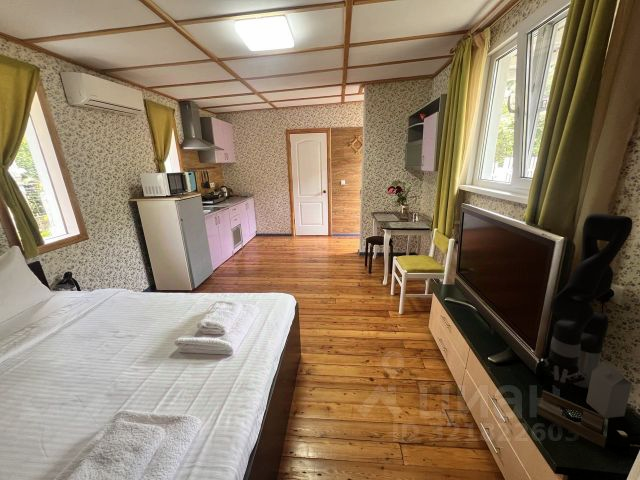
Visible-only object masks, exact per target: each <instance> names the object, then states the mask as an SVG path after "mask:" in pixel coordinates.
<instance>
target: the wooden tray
mask: <svg viewBox="0 0 640 480" xmlns="http://www.w3.org/2000/svg"><path fill="white" fill-rule="evenodd" d="M558 406H559V407H564V408H568V409H572V410H575V411H578V412H581V413H583V411H586V412H588V413H590V414H592V415H594V416H596V417H599V418H601V419H603V420H604V421H603V422H604V427H603V435H602V434H600V433H598V432H595V431H593V430H591V429H589V428H587V427H585V426H583V425H581V424H580V423H581V422H574V421H572V420H570V419H568V418H566V417H564V416H562V411H563V410H562V409H559V408H558ZM535 413H536V415H537V416H540V417H541V418H543V419H545V420H548V421H550V422H552V423H553V424H556V425H558V426H560V427H561V428H564V429H566V430H568V431H570V432H572V433H574V434H576V435H578V436H580V437H582V438H584V439H587V440H588V441H590V442H591V443H594V444H597V445H598V446H601V447H602V448H605V447H606V446H605V445H606V442H607V436H608V434H607V433H608V428H609V427H608V425H609V418H606V417H604V416H602V415H601V414H600V413H598V412H595V411H592V410H590V409H589V408H585V407H583V406H581V405H578V404H576V403H574V402H571V401H570V400H567V399H564V398H563V397H560V396H557V395H556V394H553V393H551V392H548V391H546V390H544V389H543V390H542V394H541V398H540V400H539V403H538V404H537V406H536V411H535Z"/></svg>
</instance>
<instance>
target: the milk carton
mask: <svg viewBox="0 0 640 480" xmlns="http://www.w3.org/2000/svg"><path fill="white" fill-rule="evenodd" d="M632 386H633V383H632V382H630V381H629V380H628V379H627V378H626V375H625V374H623V373H622V372H620V371H619V370H618V369H616V368H614V367H613V366H611V365H609V364H608V363H607V362H605V360H604V361H602V362H601V364H599V366H598V367H597V368H596V369H594V370H593V371H592V375H591V380H590V385H589V388H588V392H587V396H586V401H585V403H586V404H587V405H588V406H590V407H591V408H592V409H594V411H596V413H597V414H599V415H602V416H604V417H606V418H608V419H612V418H618V417H619V418H620V417H625V414H626V410H627V406H628V402H629V399H630V393H631V390H632Z"/></svg>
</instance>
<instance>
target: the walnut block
mask: <svg viewBox="0 0 640 480" xmlns="http://www.w3.org/2000/svg"><path fill="white" fill-rule="evenodd" d="M603 421H604V420H603V419H601V418H599V417H596V416H594V415H592V414H590V413H588V412H586V411H583V415H582V419H581V423H580V424H581V425H583V426H585V427H587V428H589V429H591V430H593V431H595V432H598V433H600V434H601V431H602V426H603Z"/></svg>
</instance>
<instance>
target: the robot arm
mask: <svg viewBox="0 0 640 480" xmlns="http://www.w3.org/2000/svg"><path fill="white" fill-rule="evenodd" d="M633 225H634V224H633V219H632V217H629V216H627V215H626V216H624V215H620V214H619V215H615V214H606V213H590V214H588V215H587V216H586V218H585V220H584V224H583V227H582V237H581V238H582V239H581V253H580V259H579V264H577V266H575V268H574V270H573V271H572V273H571V276H570V277H569V279H568V281H567V284H566V285H565V286H564V287H563V289H561V291H560V292H559V293H557V295H555V296H554V297H553V298H552V299H551V301H550V304H549V308H550V311H551V312H552V313H553V314H554V315H556V316H559V317H562V318H564V319H567V320H556V322H555V323H554V326H553V334H552V338H551V341H550V342H551V343H550V346H549V347H550V348H549V349H550V350H549V354H548V355H549V356H547V358H543V357H541V358H540V360H539V364H540V366H541V367H542V368H543V370H544V371H545V372H546V374H547V375H548V376H549V377H551V378H553V379H554V380H553V386H555V389H557V390H560V391H561V390H564V389H565V386H566V384H568V385H575V386H577V387H580V388H583V389H589V385H590V380H591V375H592V371H593V370H594V369H596V368H597V367H598V366H600V362H601V357H602V353H603V352H602V351H603V345H604V341H605V337H606V334H607V331H608V328H609V317H608V315H607V314H605V313H601V312H598V311H594V307H592V304H590V303H591V302H593V301H595V300H597V299H599V298H600V297H602V296H604V295H605V294H607V292H609V291H610V290H611V288H612V283H613V279H614V271H613V268H612V267H611V264H612V262H613V261H614V259H615V258H616V256H617V255H618V254H619V252H620V250H621V249H622V248H623V246H624V245H625V243H626V242H627V240H628V239H629V237H630V234H631V233H632V230H633ZM598 241H602V242H608V243H607V244H606V245H605V247H604V248H602V250H600V247H599V244H598Z"/></svg>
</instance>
